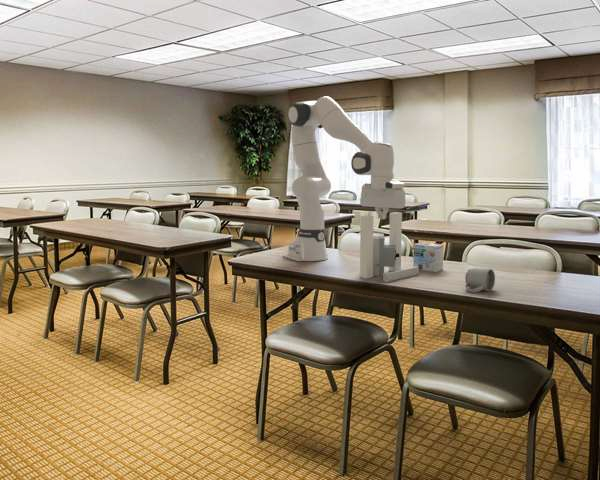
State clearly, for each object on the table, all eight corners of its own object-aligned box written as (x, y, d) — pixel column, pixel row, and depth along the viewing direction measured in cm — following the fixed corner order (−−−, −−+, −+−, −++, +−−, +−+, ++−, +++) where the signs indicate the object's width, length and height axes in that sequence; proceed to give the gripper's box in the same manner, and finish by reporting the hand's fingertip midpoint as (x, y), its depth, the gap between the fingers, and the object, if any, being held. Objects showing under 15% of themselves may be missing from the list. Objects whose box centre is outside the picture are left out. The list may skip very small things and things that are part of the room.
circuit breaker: (398, 276, 209) (399, 238, 207) (362, 275, 212) (362, 237, 210) (399, 272, 216) (399, 236, 214) (364, 271, 219) (364, 235, 217)
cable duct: (382, 281, 201) (383, 273, 200) (414, 273, 214) (414, 266, 214) (387, 281, 199) (387, 274, 199) (418, 274, 213) (418, 266, 212)
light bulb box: (412, 268, 224) (413, 243, 222) (420, 266, 228) (421, 241, 227) (435, 272, 216) (436, 246, 215) (443, 269, 221) (444, 244, 220)
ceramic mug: (473, 285, 193) (473, 264, 191) (495, 289, 187) (495, 267, 186) (459, 291, 185) (460, 269, 184) (482, 295, 179) (482, 272, 178)
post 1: (360, 277, 208) (360, 216, 205) (365, 275, 211) (366, 215, 207) (366, 278, 206) (367, 216, 202) (372, 277, 208) (373, 216, 205)
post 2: (388, 270, 220) (389, 212, 217) (394, 269, 223) (395, 212, 219) (395, 271, 218) (396, 213, 214) (400, 270, 220) (401, 212, 217)
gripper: (356, 183, 214) (356, 217, 216) (398, 184, 200) (397, 221, 201) (367, 183, 219) (366, 216, 221) (408, 183, 204) (407, 219, 206)
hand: (381, 218), depth 211 cm, fingers closed
